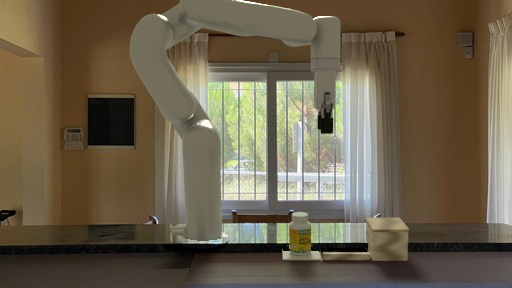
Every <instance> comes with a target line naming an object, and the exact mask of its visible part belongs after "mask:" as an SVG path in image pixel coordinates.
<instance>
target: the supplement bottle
mask: <svg viewBox="0 0 512 288" xmlns="http://www.w3.org/2000/svg"><path fill="white" fill-rule="evenodd" d="M288 228H289V230H288V232H289V233H288V238H289V241H288V243H289V244H288V246H289V249H290V253H291V254H294V255H298V256H302V255H308V254H309V253H310V252H311V246H312V224H311V222H310V221H309V214H308V213H307V212H305V211H304V212H303V211H296V212H293V213H291V221H290V223H289V226H288Z"/></svg>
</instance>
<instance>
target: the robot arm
mask: <svg viewBox="0 0 512 288" xmlns="http://www.w3.org/2000/svg"><path fill="white" fill-rule="evenodd" d="M202 29H207V30H210V31H211V30H212V31H216V32H220V33H225V34H229V35H234V36H239V37H264V38H271V39H277V40H280V41H282V42H283V43H284V44H285V45H286V46H288V47H291V48H292V47H293V48H295V47H303V46H310V73H311V72H313V73H314V78H313V79H314V80H313V108H314V109H315V110H316V111H317V122H316V123H317V124H316V125H317V130H320V134H322V135H330V134H331V135H333V134H334V114H333V113H334V112H333V110H335V108H336V107H335V106H336V90H337V89H336V87H337V86H336V83H337V82H336V77H337V76H336V75H337V73H336V72H341V20H340V18H338V17H337V16H332V15H331V16H328V15H327V16H317V17H314V18H313V16H311V15H310V14H308V13H306V12H302V11H299V10H295V9H291V8H285V7H281V6H275V5H270V4H269V5H268V4H262V3H257V2H251V1H245V0H179V3H178V4H176V5H174V6H173V7H172V8H170V9H168V10H166V11H165V12H163V13H162V14H158V13H150V14H146V15H145V16H143V17H142V18H140V19H139V21H137V24H136V25H135V27H134V29H133V31H132V33H131V37H130V42H129V55H130V60H131V63H132V66H133V68H134V70H135V72H136V73H137V75H138V77H139V78H140V80H141V82H142V83H143V85H144V86H145V88H146V90H147V92H148V93H149V95H150V96H151V98H152V100H153V101H154V102H155V104H156V105H157V108H158V109H159V111H160V113H161V116H163V117H164V118H165V120H167V121H169V122H170V124H171V126H172V127H173V128H174V131H175V132H176V133H177V134H178V137H180V139H181V148H182V149H181V150H182V151H181V152H182V167H183V189H184V191H183V192H184V194H183V195H184V215H185V216H184V217H185V224H182V225H181V226H177V225H170V226H169V234H171V235H172V236H181V237H182V236H183V238H185V239H190V240H197V241H209V240H217V239H221V238H222V237H228V238H229V236H228V234H227V233H226V232H223V211H222V205H223V204H222V177H221V170H222V169H221V166H222V165H221V159H222V155H221V154H222V143H221V142H222V141H221V138H220V134H219V131H218V130H217V128H216V127H215V125H214V124H213V122H212V120H211V118H210V117H209V116H208V114H207V113H206V111H205V110H204V108H203V106H202V105H201V103H200V101H198V99H197V97H196V96H195V94H194V93H193V91H192V90H191V89H190V88H188V87H187V86H186V84H185V83H184V82H183V80H182V78H181V77H180V76H179V74H178V72H177V71H176V68H175V67H174V65H173V64H172V62H171V60H170V59H169V57H168V55H167V50H169V49H171V48H172V47H174V46H175V45H177V44H178V43H180V42H182V41H184V40H185V39H187V38H189V37H191V36H192V35H194V34H195V33H196V32H198V31H200V30H202Z"/></svg>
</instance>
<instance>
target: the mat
mask: <svg viewBox="0 0 512 288" xmlns="http://www.w3.org/2000/svg"><path fill="white" fill-rule="evenodd" d="M320 252H321V251H320ZM320 252H319V251H311V252H310V253H309V254H308V255H302V256H298V255H294V254H291V253H290V251H283V250H282V261H319V260H321V257H320Z"/></svg>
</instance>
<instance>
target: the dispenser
mask: <svg viewBox="0 0 512 288" xmlns="http://www.w3.org/2000/svg"><path fill="white" fill-rule="evenodd" d="M364 220H365V222H366V223H365V224H366V225H365V229H366V230H365V241H366V240H367V242H368V250H367V252H364V251H363V252H361V251H360V252H358V251H355V252H353V251H352V252H350V251H349V252H345V251H344V252H341V251H340V252H339V251H338V252H337V251H332V252H329V251H322V253H321V251H320V257H321V260H318V261H319V262H323V261H371V260H372V261H377V262H378V261H379V262H383V261H384V262H385V261H386V262H390V261H391V262H392V261H393V262H396V261H398V262H401V261H402V262H406V261H408V255H409V254H408V253H409V250H408V249H409V248H408V247H409V232H410V228H409V227H408V226H407V224H406V223H405V222H404V221H403V220H402V219H401V218H400V217H365V218H364Z"/></svg>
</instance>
